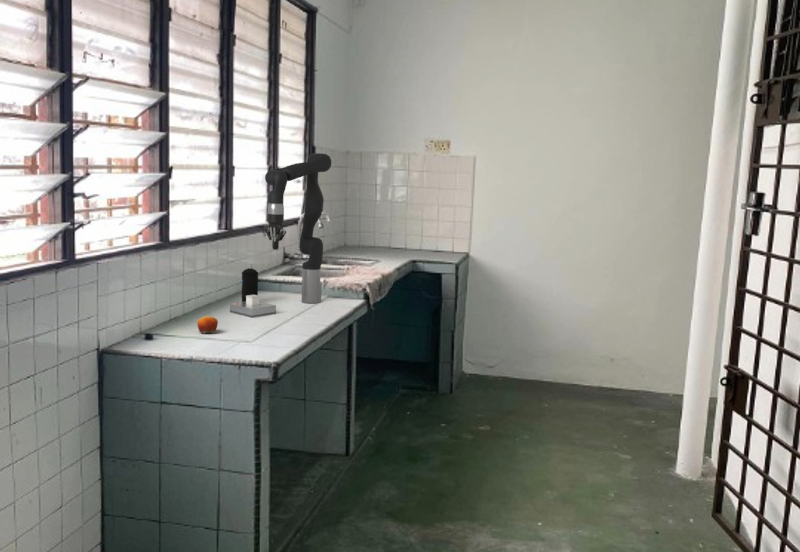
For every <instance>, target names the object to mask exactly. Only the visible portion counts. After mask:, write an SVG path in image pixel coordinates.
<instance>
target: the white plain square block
mask: <svg viewBox="0 0 800 552" xmlns="http://www.w3.org/2000/svg"><path fill="white" fill-rule="evenodd" d="M260 302H261V296H260V295H247V296H246V305H249V306H257V305H260Z"/></svg>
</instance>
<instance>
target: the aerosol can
mask: <svg viewBox="0 0 800 552" xmlns="http://www.w3.org/2000/svg"><path fill="white" fill-rule="evenodd" d="M258 294H259V272H258V271H257V270H256V269H254V268H253V264H252V263H248V264H247V268H246V269H245V268H244V270H242V272H241V302H245V301H246V296H247V295H258ZM258 296H259V295H258Z"/></svg>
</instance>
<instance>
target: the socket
mask: <svg viewBox="0 0 800 552" xmlns="http://www.w3.org/2000/svg"><path fill="white" fill-rule="evenodd" d="M276 305H277V304H273V303H272V304H271V303H267V302H262V301H260V305H257V306H249V305H246V301H245V302H242V301H240V302H233V303H229V313H232V314H236V315H240V316H243V315H244V317H248V318H252V319H253V318H258V317H265V316H270V315H276V314H277V306H276Z"/></svg>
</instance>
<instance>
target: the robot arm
mask: <svg viewBox="0 0 800 552" xmlns="http://www.w3.org/2000/svg"><path fill="white" fill-rule="evenodd" d="M331 168H332V159H331V157H330V155H328V154H326V153H319V152H318V153H317V152H316V153H315V152H313V153H310V154H309V156H307V161H303V162H297V163H292V164H290V165H286V166H284V167H278V168H273V169H270V170H268V171H267V172H266V174H265V176H264V180H265V182H266V183H267V184H268V185H269V186H274V188H273V190H270V191H269V192H268V203H267V223H268V227H267V228H265V229H264V232H265V234H266V235H267V237H268V239H269V241H271V245H272V250H276V251H277V250H279V247H280V245H279V243H280V242H281V241H283V239H284V238H285V236H286V234H287V231H286V230H284V227H283V224H284V222H285V221H284V220H285V218H284V217H285V205H284V194H285V191H286V187H287V183H288V182H291V181H295V180H296V179H299V178H302V177H305V176H306V190H305V199H304V200H305V201H304V209H303V210H304V211H303V221H302V229H301V234H300V239H299V251H300V252H301V254H302V255H307V256H308V260H307V261H304V262H302V271H301V272H302V273H301V274H302V275H301V303H304V304H318V303H321V302H322V287H323V286H322V284H323V283H322V282H321V268H322V267H321V266H322V264H323V255H324V244H323V243H324V242H323V240H322V239H321V238H320V237H315V236H314V229H315V226H316V224H317V222H318V220H320V217H321V216H322V215H323V212H324V201H325V200H324V195H323V193H322V190H321V188H320V187H321V186H320V185H319V173H325V172H328V171H329V170H330V169H331ZM320 301H321V302H320Z"/></svg>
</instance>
